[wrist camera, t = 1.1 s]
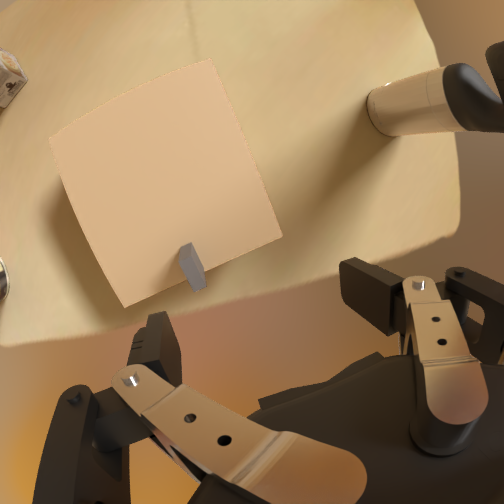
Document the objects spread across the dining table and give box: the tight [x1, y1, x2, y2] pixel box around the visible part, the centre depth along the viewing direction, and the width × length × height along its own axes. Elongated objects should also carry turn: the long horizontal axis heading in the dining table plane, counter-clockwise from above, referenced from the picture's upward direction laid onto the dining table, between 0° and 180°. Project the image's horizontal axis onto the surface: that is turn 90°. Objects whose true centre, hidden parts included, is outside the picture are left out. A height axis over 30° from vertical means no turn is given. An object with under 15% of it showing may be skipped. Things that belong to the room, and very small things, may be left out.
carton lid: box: [48, 58, 283, 308], centre depth 23 cm, size 19×20×6 cm
